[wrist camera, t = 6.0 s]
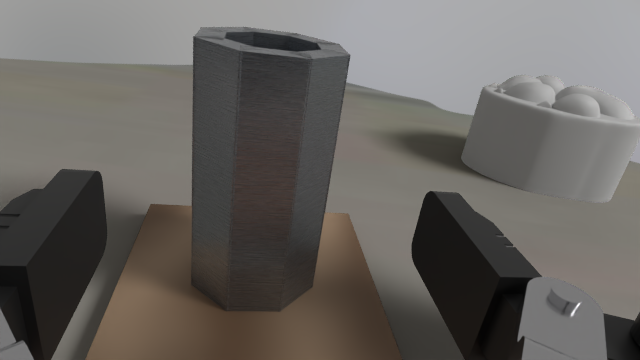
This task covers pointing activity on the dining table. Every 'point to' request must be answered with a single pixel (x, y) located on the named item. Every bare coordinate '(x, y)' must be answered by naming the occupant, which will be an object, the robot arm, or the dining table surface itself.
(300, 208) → the grey octagonal tube
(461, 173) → the dining table surface
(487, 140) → the lumpy-topped squat cylinder
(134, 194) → the dining table surface
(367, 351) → the walnut base
